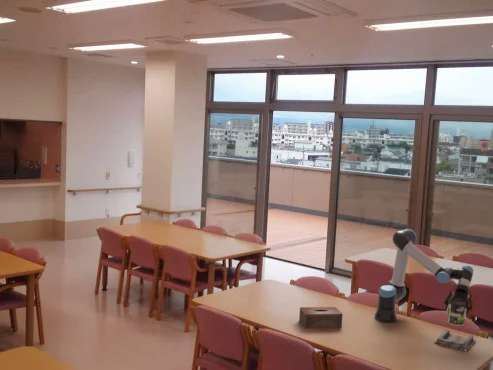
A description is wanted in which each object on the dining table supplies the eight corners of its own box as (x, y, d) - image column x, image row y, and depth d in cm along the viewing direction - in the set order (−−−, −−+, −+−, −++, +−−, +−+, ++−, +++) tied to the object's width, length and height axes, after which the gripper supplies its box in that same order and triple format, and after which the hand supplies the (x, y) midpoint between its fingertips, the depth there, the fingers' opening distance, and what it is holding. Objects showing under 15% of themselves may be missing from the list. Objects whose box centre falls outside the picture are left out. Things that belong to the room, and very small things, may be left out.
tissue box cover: (304, 328, 360) (305, 314, 359) (299, 321, 375) (299, 307, 374) (341, 328, 365) (342, 313, 364) (334, 320, 379) (335, 306, 378)
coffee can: (468, 325, 345) (469, 304, 344) (454, 326, 342) (455, 304, 341) (457, 319, 355) (459, 299, 354) (444, 320, 352) (445, 299, 351)
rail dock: (434, 343, 345) (434, 338, 344) (444, 333, 363) (444, 328, 362) (467, 351, 333) (467, 346, 333) (475, 341, 351) (475, 336, 351)
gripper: (481, 293, 353) (474, 323, 342) (446, 286, 366) (438, 315, 354) (480, 287, 348) (473, 317, 337) (444, 280, 361) (436, 309, 349)
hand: (455, 316), depth 345 cm, fingers closed on coffee can, 10 cm apart
